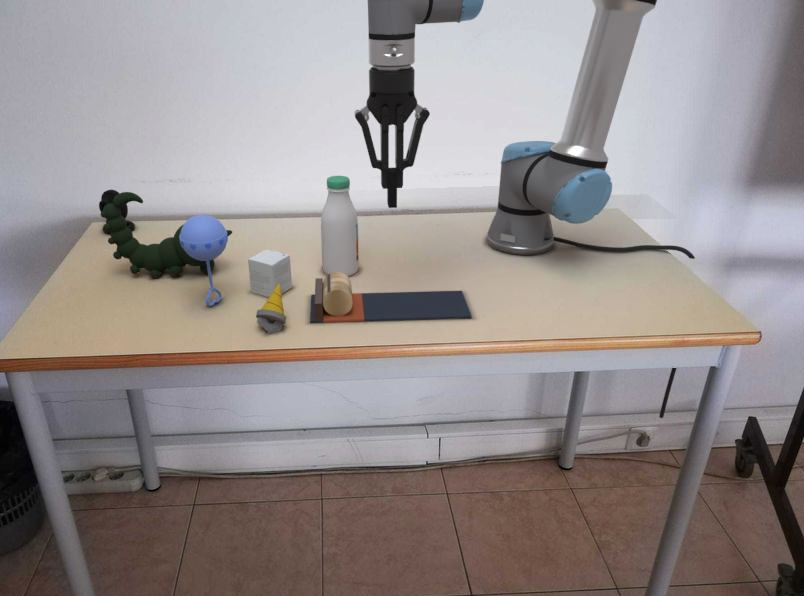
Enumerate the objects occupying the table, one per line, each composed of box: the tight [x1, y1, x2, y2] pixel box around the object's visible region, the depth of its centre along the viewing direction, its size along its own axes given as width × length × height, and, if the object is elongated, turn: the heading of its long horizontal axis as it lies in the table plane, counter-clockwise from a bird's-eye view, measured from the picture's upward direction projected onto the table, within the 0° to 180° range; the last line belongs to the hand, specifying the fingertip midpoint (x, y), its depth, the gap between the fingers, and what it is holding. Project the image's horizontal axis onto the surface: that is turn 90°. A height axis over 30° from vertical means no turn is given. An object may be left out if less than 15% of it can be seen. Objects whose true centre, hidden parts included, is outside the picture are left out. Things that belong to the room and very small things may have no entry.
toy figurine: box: [100, 191, 233, 279], centre depth 141 cm, size 9×19×25 cm
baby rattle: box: [179, 214, 229, 308], centre depth 127 cm, size 9×9×18 cm
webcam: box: [98, 189, 136, 236], centre depth 165 cm, size 8×8×10 cm
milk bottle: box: [320, 175, 360, 277], centre depth 141 cm, size 8×8×20 cm
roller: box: [323, 272, 353, 316], centre depth 129 cm, size 6×8×6 cm
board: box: [309, 277, 473, 324], centre depth 130 cm, size 30×11×4 cm, turn 93°
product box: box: [247, 249, 293, 298], centre depth 136 cm, size 6×6×7 cm
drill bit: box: [255, 283, 287, 335], centre depth 123 cm, size 5×5×10 cm
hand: (392, 205), depth 124 cm, fingers closed
